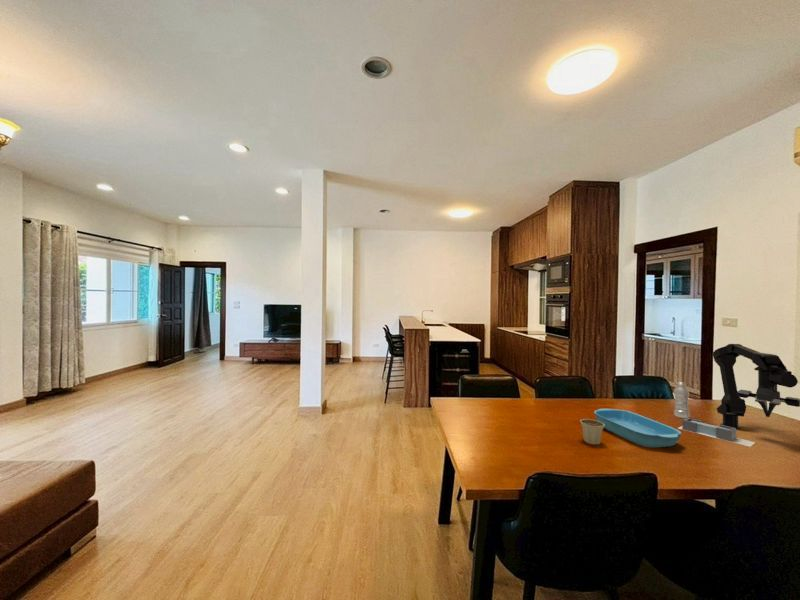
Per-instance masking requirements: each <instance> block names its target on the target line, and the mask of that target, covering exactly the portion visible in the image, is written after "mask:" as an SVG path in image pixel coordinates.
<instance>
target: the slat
mask: <svg viewBox="0 0 800 600" xmlns="http://www.w3.org/2000/svg"><path fill="white" fill-rule="evenodd" d="M691 422H695V423H697V432H700V433H704V434H708V435H712V436H716V427H718V428H722V427H720V426H717V425H712V424H709V423H703V422H702V421H701V422H696V421H691ZM723 429H726V428H723ZM727 430H730V429H727Z"/></svg>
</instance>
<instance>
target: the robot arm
mask: <svg viewBox="0 0 800 600" xmlns="http://www.w3.org/2000/svg"><path fill="white" fill-rule="evenodd" d="M740 356H742V357H744V358H747V359H749V360H751V362H752V363H753V364H754V365H756V366H757V367H754V368H753V369H754V370H755V371H757V372H758V373H757V374H758V375H757V377H758V379H757V380H758V381H757V383H758V384H757V389H756V392H754V393H753V392H752V390H745V389H739V390H738V387H737V383H736V376H735V371H734V366H735V364H736V363H737V358H738V357H740ZM712 357H713V361H714V362H715V363H716V364H717V366H718V367H719V370H720V371H719V372H720V375H721V376H720V377H721V381H722V382H721V383H722V388H723V393H724V394H723V396H722V398H721V400H720V401H721V404H720V405H719V406H718V407H716V411H717V414H720V415H722V423H720V425H724V426H729V427H733V428H736V430H739V429H741V428H742V426H741V425H739V417H742V418H743V417H744V416H745V414H746V412H747V408H748V407H747V405H746V400H745V399H748V398H749V397H750V398H755V400H754V402H757V403H758V404H759V405H760V406H761V408H762V410H763V413H764V415H765V417H767V418H770V417H771V414H772V412H773V411H774V409H775V408H776V406H780V405H781V404H782V403H784V404H785V405H787V406H791V407H796V408H800V398H799V397H798V398H797V397H792V396H786V397H781V392H780V391H778V386H782V387H785V388H794V387H796V386H797V385H798V382H799V381H798V378H797V377H796V375H794V374H793V373H792V371H790V370H788V369H787V366H786V365H785V364H784V363H783V361H782V360H781V358H780V356H778V355H777V354H772V353H765V352H760V351H757V350H754V349H752V348H749V347H746V346H744V345H742V344H741V343H740V344H739V343H728V344H727V345H725V346H722V347H719V348H717V349H715V350H714V351H713V352H712ZM720 425H719V426H720Z"/></svg>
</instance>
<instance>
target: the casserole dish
mask: <svg viewBox="0 0 800 600" xmlns="http://www.w3.org/2000/svg"><path fill="white" fill-rule="evenodd" d="M593 414H594V416H595V419H596V421H599V422H602V423H603V424H604V425H605V426H604V428H603V429H606V430H607V431H609V432H610V433H612V434H615V435H617V436H619V437H622V438H624V439H625V440H627V441H630V442H632V443H634V444H635V445H639V446H641V447H645V448H665V447H667V446H668V447H672V446H675V445H676V444H677V442H678V441H679V440H680V437H681V434H682V432H681V431H680V429H678V428H677V429H676V428H674V427H672V426H670V425H667V424H664V423H662V422H659V421H656V420H654V419H651V418H649V417H646V416H643V415H640V414H638V413H636V412H633V411H628V410H624V409H616V408H615V409H614V408H598V409H596V410H594V411H593Z"/></svg>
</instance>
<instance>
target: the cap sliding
mask: <svg viewBox="0 0 800 600" xmlns="http://www.w3.org/2000/svg"><path fill="white" fill-rule="evenodd" d="M718 427H722V428H718ZM718 427H716V438H715V439H717V438H720V439H719V440H721V439H724V440H723V441H725V440H728V441H727V442H729V441H733V440H734V439H736V438H737V429H736V428H733V427H729V426H724V425H719V426H718ZM723 428H726V429H723ZM727 429H730V430H727Z"/></svg>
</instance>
